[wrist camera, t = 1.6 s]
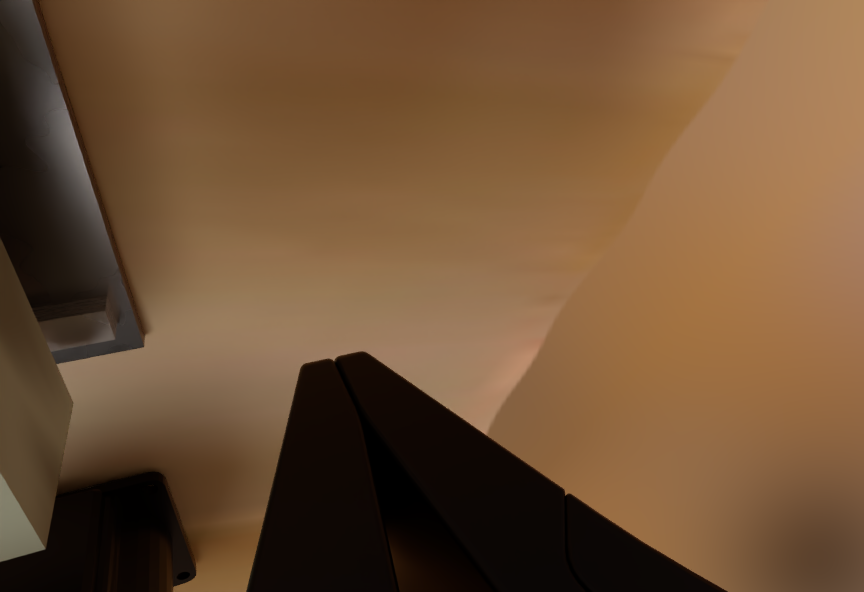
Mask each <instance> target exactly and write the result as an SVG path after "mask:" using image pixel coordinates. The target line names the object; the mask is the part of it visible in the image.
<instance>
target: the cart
mask: <svg viewBox="0 0 864 592" xmlns="http://www.w3.org/2000/svg"><path fill="white" fill-rule="evenodd" d="M72 407H73V401H72V399H71V396H70V394H69V392H68V390H67V387H66V385H65V383H64V380H63V378H62V376H61V374H60V371H59V369H58V367H57V365H56V362H55V360H54V358H53V356H52V353H51V351H50V349H49V347H48V344H47V342H46V340H45V337H44V335H43V333H42V331H41V328H40V326H39V324H38V322H37V319H36V317H35V315H34V313H33V310H32V308H31V306H30V303H29V301H28V299H27V297H26V294H25V292H24V290H23V288H22V285H21V283H20V281H19V279H18V276H17V274H16V272H15V270H14V267H13V265H12V263H11V260H10V258H9V256H8V254H7V251H6V249H5V247H4V245H3V242H2V240H1V238H0V562H2V561H5V560H9V559H12V558H16V557H19V556H23V555H27V554H30V553H34V552H37V551H41V550H44V549H46V545H47V539H48V534H49V529H50V523H51V518H52V513H53V508H54V502H55V497H56V492H57V486H58V481H59V476H60V471H61V465H62V460H63V455H64V450H65V444H66V439H67V434H68V428H69V423H70V418H71V413H72Z"/></svg>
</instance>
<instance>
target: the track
mask: <svg viewBox="0 0 864 592" xmlns="http://www.w3.org/2000/svg"><path fill="white" fill-rule="evenodd" d="M0 238H1V240H2V242H3V245H4V247H5V249H6V251H7V254H8V256H9V258H10V260H11V263H12V265H13V267H14V270H15V272H16V274H17V276H18V279H19V281H20V283H21V285H22V288H23V290H24V292H25V294H26V297H27V299H28V301H29V303H30V306H31V308H32V310H33V313H34V315H35V317H36V319H37V322H38V324H39V326H40V328H41V331H42V333H43V335H44V337H45V340H46V342H47V344H48V347H49V349H50V351H51V353H52V356H53V358H54V360H55V362H56V364H59V363H64V362H69V361H74V360H79V359H85V358H90V357H95V356H100V355H105V354H111V353H116V352H121V351H126V350H131V349H137V348H142V347H144V341H145V335H144V332H143V329H142V326H141V323H140V319H139V316H138V313H137V310H136V307H135V304H134V301H133V298H132V294H131V291H130V288H129V285H128V282H127V279H126V276H125V272H124V269H123V266H122V263H121V260H120V257H119V254H118V250H117V247H116V244H115V241H114V238H113V235H112V232H111V229H110V225H109V222H108V219H107V216H106V213H105V210H104V207H103V203H102V200H101V197H100V194H99V191H98V188H97V185H96V181H95V178H94V175H93V172H92V169H91V166H90V163H89V160H88V156H87V153H86V150H85V147H84V144H83V141H82V138H81V134H80V131H79V128H78V125H77V122H76V119H75V116H74V113H73V109H72V106H71V103H70V100H69V97H68V94H67V91H66V87H65V84H64V81H63V78H62V75H61V72H60V69H59V65H58V62H57V59H56V56H55V53H54V50H53V47H52V44H51V40H50V37H49V34H48V31H47V28H46V25H45V22H44V18H43V15H42V12H41V9H40V6H39V3H38V0H0Z"/></svg>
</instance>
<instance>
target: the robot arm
mask: <svg viewBox="0 0 864 592" xmlns="http://www.w3.org/2000/svg"><path fill="white" fill-rule="evenodd" d="M148 485H154V486H149V487H148ZM195 576H196V562H195V560H194V557H193V554H192V551H191V548H190V546H189V543H188V540H187V537H186V534H185V531H184V529H183V526H182V523H181V520H180V517H179V515H178V512H177V509H176V506H175V503H174V500H173V498H172V495H171V492H170V489H169V486H168V484H167V481H166V478H165V476H164V475H163V474H161V473H159V472H147V473H143V474H139V475H136V476H132V477H128V478H124V479H120V480H116V481H112V482H108V483H104V484H101V485H97V486H93V487H89V488H85V489H81V490H77V491H73V492H70V493H66V494H62V495H58V496H56V497H55V502H54V508H53V513H52V518H51V523H50V529H49V534H48V539H47V545H46V549H44V550H41V551H37V552H34V553H30V554H27V555H23V556H19V557H16V558H12V559H9V560H5V561H2V562H0V592H173V587H174V586H177V585H180V584H183V583H186V582H188V581H191V580H192V579H193V578H194V577H195ZM246 592H727V591H726V590H724V589H722V588H720V587H719V586H717V585H715V584H713V583H712V582H710V581H708V580H706V579H704V578H703V577H701V576H699V575H697V574H696V573H694V572H692V571H691V570H689V569H687V568H686V567H684V566H682V565H681V564H679V563H677V562H676V561H674V560H672V559H671V558H669V557H667V556H666V555H664V554H662V553H661V552H659V551H657V550H656V549H654V548H652V547H650V546H649V545H647V544H645V543H644V542H642V541H641V540H639V539H638V538H636V537H634V536H633V535H632V534H630V533H628V532H627V531H625V530H623V529H622V528H621V527H619V526H618V525H616V524H615V523H613V522H612V521H610V520H609V519H607V518H606V517H604V516H603V515H601V514H599V513H598V512H597V511H595V510H594V509H592V508H591V507H589V506H588V505H587V504H585V503H584V502H582V501H581V500H579V499H578V498H576V497H575V496H573V495H572V494H567V495H566V496H565V490H564V489H563V488H562V487H560V486H559V485H557V484H555V483H554V482H553V481H551V480H550V479H549V478H547V477H545V476H544V475H543V474H541V473H540V472H538V471H537V470H536V469H534V468H533V467H531V466H530V465H528V464H527V463H525V462H524V461H523V460H521V459H520V458H518V457H517V456H515V455H514V454H512V453H511V452H510V451H508V450H507V449H505V448H504V447H502V446H501V445H500V444H498V443H497V442H495V441H494V440H492V439H491V438H489V437H488V436H487V435H485V434H484V433H482V432H481V431H479V430H478V429H476V428H475V427H474V426H472V425H471V424H469V423H468V422H466V421H465V420H463V419H462V418H461V417H459V416H458V415H456V414H455V413H453V412H452V411H450V410H449V409H448V408H446V407H445V406H443V405H442V404H440V403H439V402H437V401H436V400H435V399H433V398H432V397H430V396H429V395H427V394H426V393H425V392H423V391H422V390H420V389H419V388H417V387H416V386H414V385H413V384H412V383H410V382H409V381H407V380H406V379H404V378H403V377H401V376H400V375H399V374H397V373H396V372H394V371H393V370H391V369H390V368H388V367H387V366H386V365H384V364H383V363H381V362H380V361H378V360H377V359H375V358H374V357H373V356H371V355H370V354H368V353H366V352H363V351H362V352H356V353H351V354H347V355H342V356H338V357H337V358H336V359H335V361H333V360H332V359H324V360H319V361H315V362H310V363H306V364H304V365H303V366H302V367H301V369H300V373H299V377H298V381H297V385H296V389H295V393H294V397H293V401H292V406H291V410H290V414H289V418H288V422H287V426H286V430H285V434H284V439H283V443H282V447H281V451H280V455H279V459H278V463H277V467H276V472H275V476H274V480H273V484H272V488H271V492H270V496H269V500H268V505H267V509H266V513H265V517H264V521H263V525H262V529H261V533H260V538H259V542H258V546H257V550H256V554H255V558H254V562H253V566H252V571H251V575H250V579H249V583H248V587H247V591H246Z"/></svg>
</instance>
